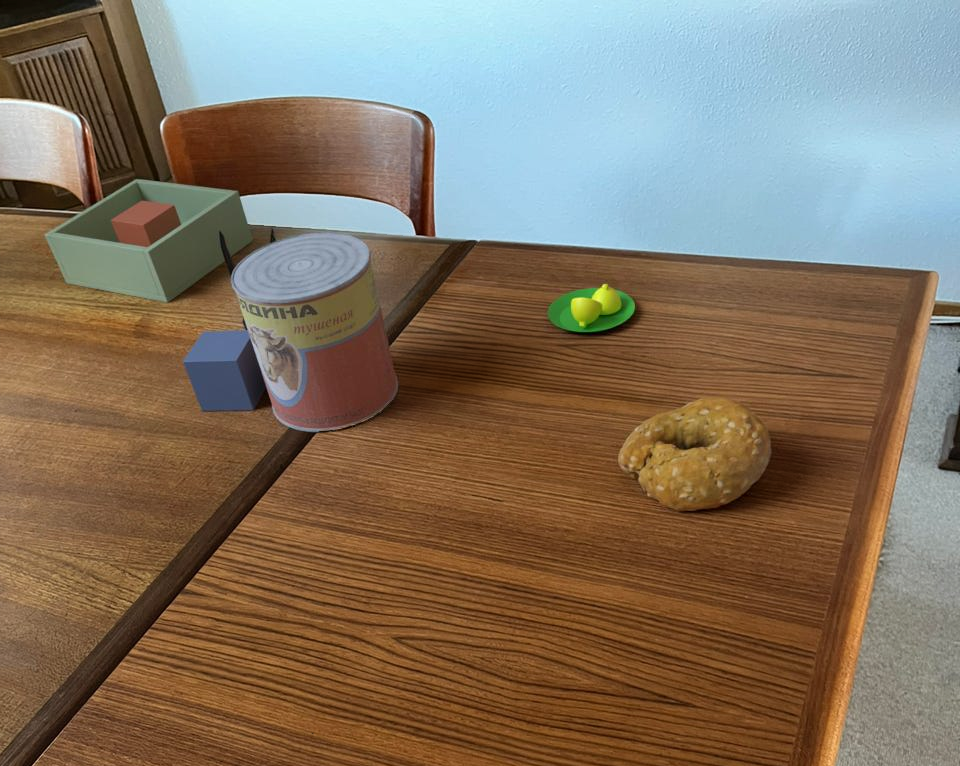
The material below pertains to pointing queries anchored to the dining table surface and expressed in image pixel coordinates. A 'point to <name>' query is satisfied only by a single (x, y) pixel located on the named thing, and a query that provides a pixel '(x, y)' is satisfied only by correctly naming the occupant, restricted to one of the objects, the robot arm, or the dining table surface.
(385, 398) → the canned food
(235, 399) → the slate-blue block
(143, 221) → the terracotta block
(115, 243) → the bin
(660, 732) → the dining table surface
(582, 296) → the green plate with lemons
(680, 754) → the dining table surface
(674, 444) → the bagel
